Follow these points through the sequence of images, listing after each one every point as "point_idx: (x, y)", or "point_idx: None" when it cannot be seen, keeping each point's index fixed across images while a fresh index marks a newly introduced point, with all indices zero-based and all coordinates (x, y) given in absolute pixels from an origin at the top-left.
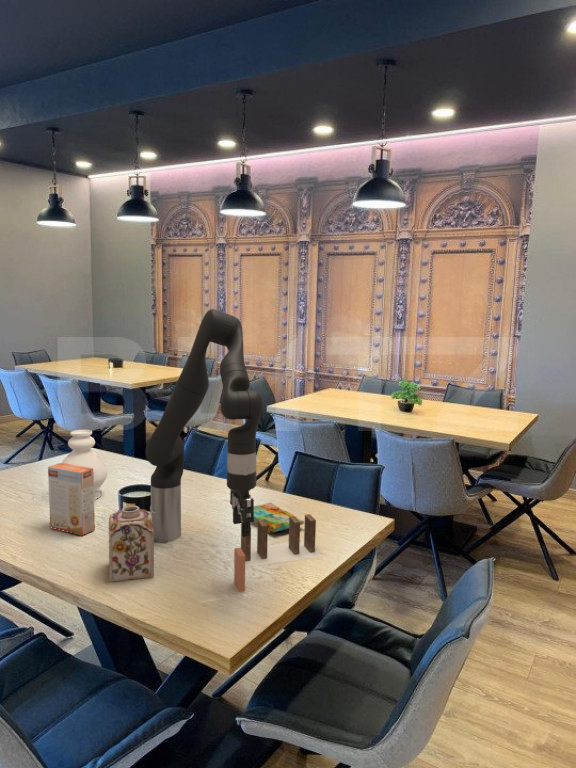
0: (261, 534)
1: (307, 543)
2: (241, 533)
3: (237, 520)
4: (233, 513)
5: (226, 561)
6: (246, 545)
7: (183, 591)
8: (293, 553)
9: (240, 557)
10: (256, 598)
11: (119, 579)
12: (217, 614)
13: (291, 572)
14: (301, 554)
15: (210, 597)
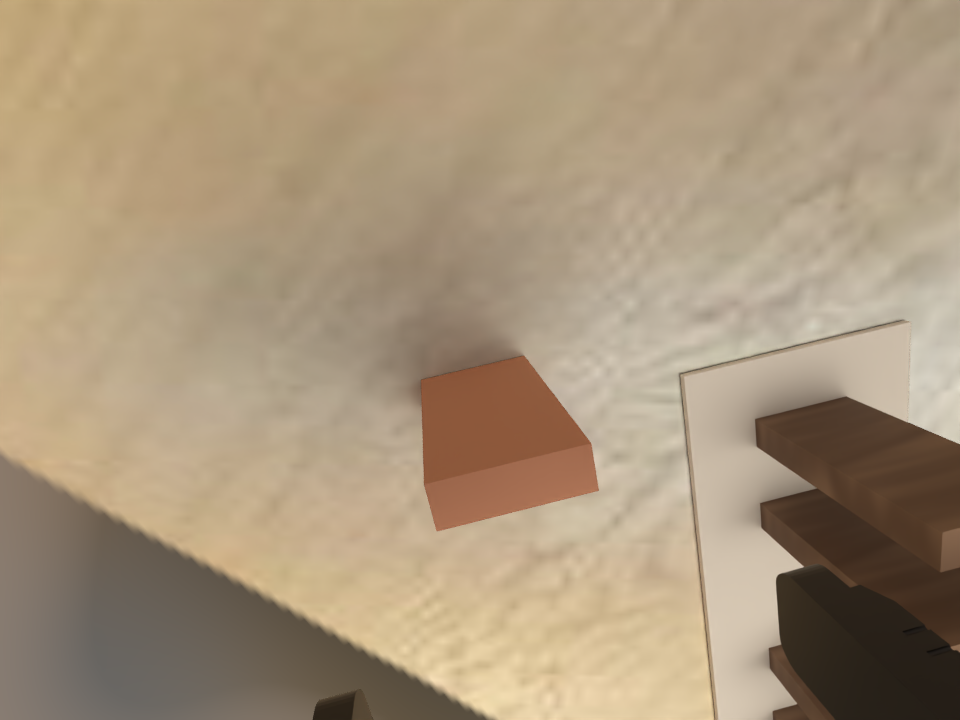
0: (889, 590)
1: None
2: (345, 714)
3: (811, 648)
4: (925, 704)
5: (788, 314)
6: (824, 467)
7: (464, 43)
8: (780, 647)
9: (425, 489)
10: (362, 466)
11: None
12: (191, 262)
13: (606, 626)
14: (764, 677)
15: (382, 220)
